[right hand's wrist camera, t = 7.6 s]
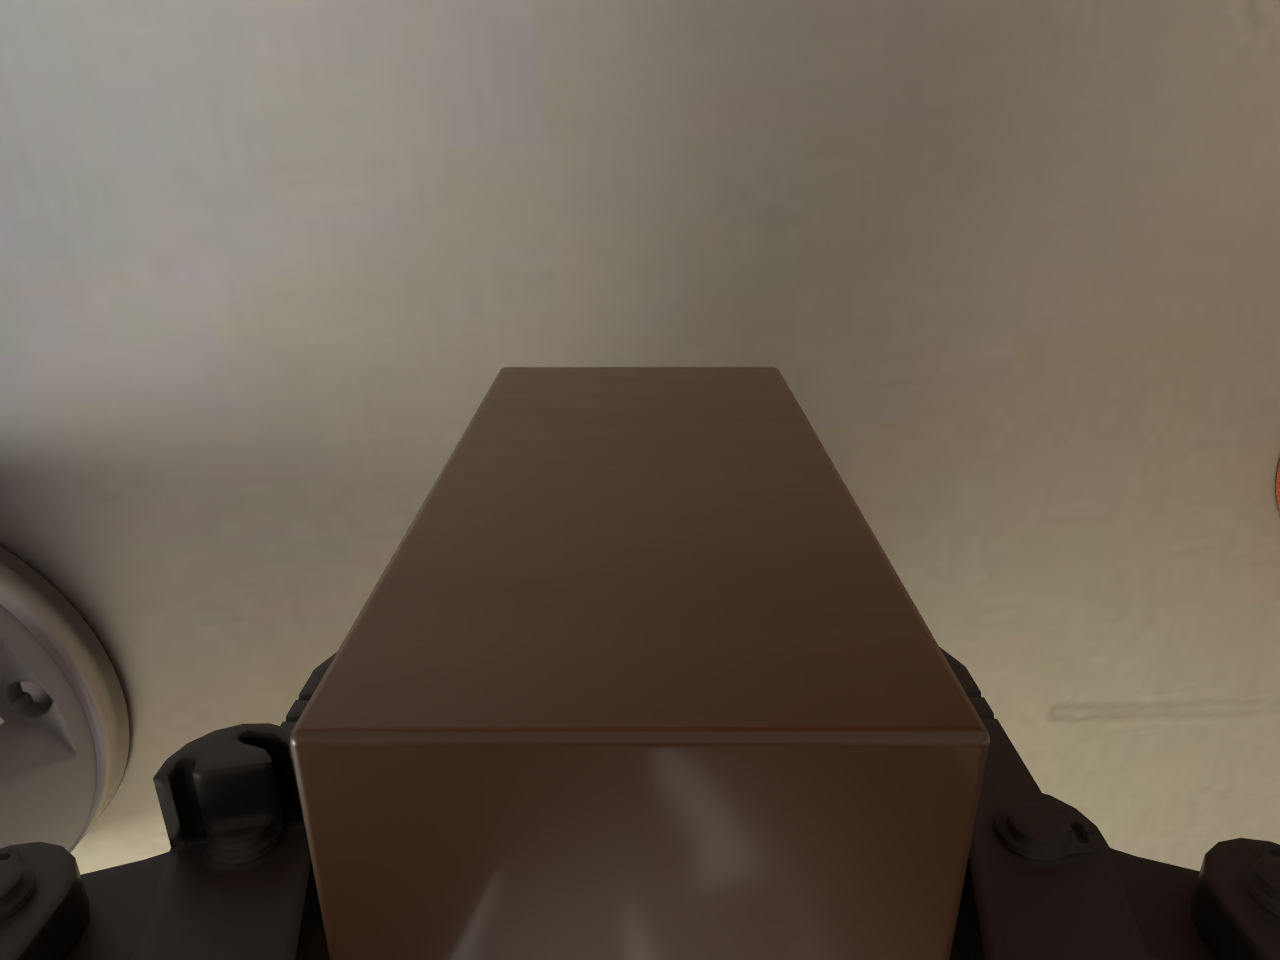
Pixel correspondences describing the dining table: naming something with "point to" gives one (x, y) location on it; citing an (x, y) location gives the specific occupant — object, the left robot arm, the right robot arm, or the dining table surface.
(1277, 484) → the terracotta cup
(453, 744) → the walnut box
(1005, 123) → the dining table surface
